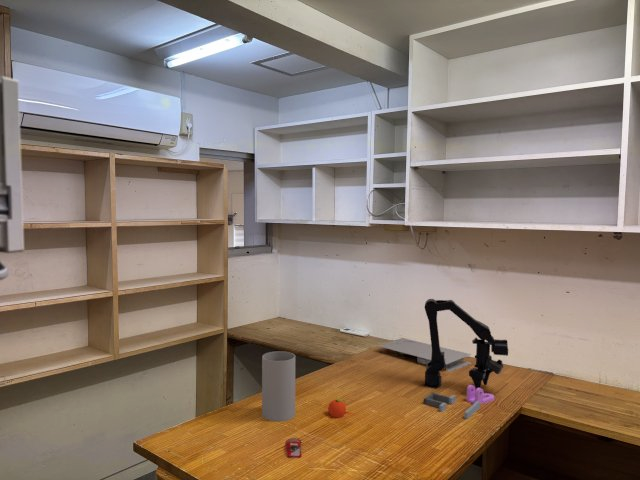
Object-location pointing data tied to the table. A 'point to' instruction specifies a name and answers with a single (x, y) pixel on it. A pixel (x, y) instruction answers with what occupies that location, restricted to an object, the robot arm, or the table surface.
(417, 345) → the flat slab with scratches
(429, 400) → the trap pit
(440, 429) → the table surface
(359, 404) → the table surface
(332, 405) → the tomato
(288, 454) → the red labelled container
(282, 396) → the cylinder vase
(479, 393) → the bracket
